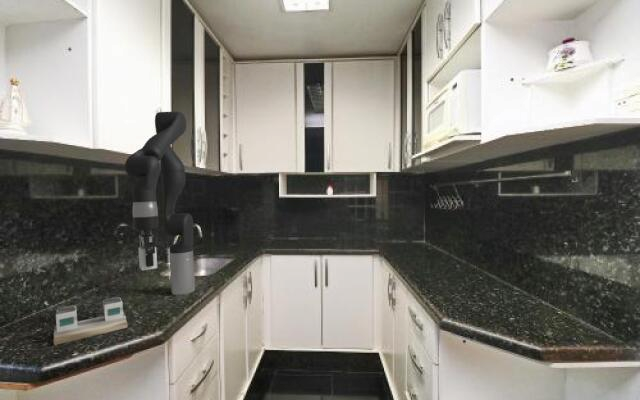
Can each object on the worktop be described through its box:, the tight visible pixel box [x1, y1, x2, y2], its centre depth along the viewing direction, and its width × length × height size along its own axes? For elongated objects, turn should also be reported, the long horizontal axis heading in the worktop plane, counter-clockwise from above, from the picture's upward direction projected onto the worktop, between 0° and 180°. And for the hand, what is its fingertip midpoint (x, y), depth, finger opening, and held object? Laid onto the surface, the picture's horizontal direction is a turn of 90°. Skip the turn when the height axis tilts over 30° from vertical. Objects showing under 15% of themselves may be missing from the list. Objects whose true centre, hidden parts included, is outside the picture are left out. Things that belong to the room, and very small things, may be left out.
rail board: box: [53, 296, 129, 346], centre depth 103 cm, size 12×18×8 cm, turn 127°
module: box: [138, 245, 158, 271], centre depth 112 cm, size 6×4×8 cm
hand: (148, 264), depth 112 cm, fingers closed on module, 5 cm apart
